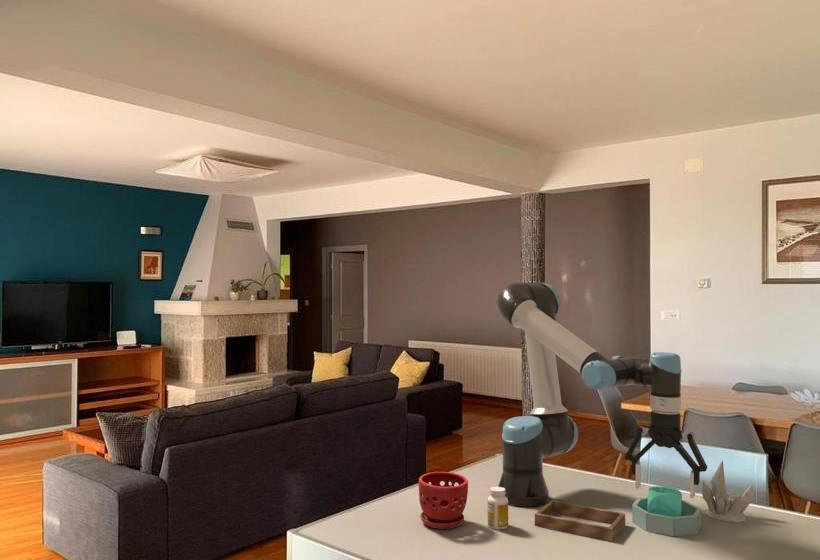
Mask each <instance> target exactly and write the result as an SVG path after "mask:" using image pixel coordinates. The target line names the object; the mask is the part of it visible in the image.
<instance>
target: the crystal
mask: <svg viewBox="0 0 820 560" xmlns="http://www.w3.org/2000/svg"><path fill="white" fill-rule="evenodd" d="M724 467H725V466H724V461H723V460H721V461H720V464H719V465H718V467H717V469H716V471H715V472H714V474H713V476H712V478H711V480H710V485H711V487H709V485H708V484H706V482H705V481H704V480H702V487H701V495H702V498H703V501H705V503H706V505H707V507H708V508H707V510H706V515H708V516H709V517H711V518H713V519H716V520H719V521H722V522H723V521H724V522H734V523H738V522H739V523H741V522H744V521H747V516H746V514H745V513H744V512H745V511H746V510H747V508H748V507H749V505H750V504H751V502H752V501H753V499H754V497H755V495H754V487H753V486H754V485H753V484H751V485H750V486H749V487H748V488H746V489H745V490H744V492H743V494H742V496H741V493H738V495H736V496H735V497H734V498H731V497H730V492H728V493H727V486H726V479H725V477H726V476H725V470H724V469H725V468H724Z"/></svg>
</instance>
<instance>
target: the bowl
mask: <svg viewBox="0 0 820 560" xmlns="http://www.w3.org/2000/svg"><path fill="white" fill-rule="evenodd" d="M631 507H632V508H631V517H632V518H631V520H632V521H631V522H632V523H633V524H635V525H636V526H637V527H639V528H641V529H643V530H644V531H646V532H648V533H655V534H659V535H665V536H668V537H669V536H670V537H685V536H695V535H698V534H699V532H700V530H701V529H702V508H701V507H699V506H697V505H694V504H693V503H690V502H688V501H686V500H685V499H684V500H683V499H682V516H679V517H670V516H665V515H659V514H653V513H649V512H648V496H647V497H637V498H636V500H635V501H634V502H633V503H632V505H631Z"/></svg>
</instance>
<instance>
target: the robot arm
mask: <svg viewBox="0 0 820 560" xmlns="http://www.w3.org/2000/svg"><path fill="white" fill-rule="evenodd" d="M496 299H497V300H496V306H497V309H498V312H499V314H500V315H501V316H502V317H503V319H504V320H505V321H506V322H508V323H509V324H510V325H512V327H513V328H516V329H521V330H523V331H524V336H525V343H526V351H527V359H528V369H529V377H530V384H531V392H532V400H533V408H532V410H531V411H530V412H529V415H523V416H514V417H511V418H509V419H507V420H506V421H504V423H503V425H502V433H501V437H502V473H501V477H500V479H499V482H498V486H497V487H503V488H505V492H506V493H505V497H507V499H508V506H517V507H529V508H530V507H538V506H543V505H547V504H548V503H549V502H550V501H549V500H550V493H549V489H548V486H547V482H546V480H545V477H544V471H543V468H544V467H543V464H544V463H543V459H547V458H552V457H556V456H562V455H564V454H566V453H568V452H570V451H571V450H572V449H574V447H575V446H576V445H577V442H578V438H579V432H578V431H579V429H578V426H577V424H576V422H575V421H574V420H573V418H572V417H570V416H569V411H568V409H567V408H566V407H565V406H564V405H563V404H562V397H561V387H560V382H559V374H558V366H557V357H558V358H560V359H561V360H563V361H564V362H565V363H567V364H568V365H569V366H570V367H572V368H573V369H574V370H576V371H577V372H578V373H579V374H581V379H582V381H583V383H584V385H585V386H586V387H587V388H588V389H591V390H593V391H605V390H606V391H607V390H609V389H614V388H620V387H626V386H631V385H632V386H639V387H640V386H642V387H645V388H646V387H648V388H649V391H650V392H649V397H650V398H649V401H650V402H649V406H650V407H649V408H650V412H649V428H648V427H645V426H644V425H640V426H639V427H637V430H636V436H635V437H634V439H633V441H632V443H631V445H630V446H629V448H628V449H627V452H626V453H625V455H624V459H625V460H627V461H629V462H631V474H632V475H633V476H635V489H640V488H641V486H642V481H641V480H642V462H641V461H640V459H641V458H642V457H643V456H644V455H645V454H646V453H647V452H648V451H649V450H651V448H653V446H655V445H656V446H657V447H659V448H667V449H672V448H674V449H675V451H676V452H678V454H679V455H680V456H681V457H682V458H683V460H684V461H685V463H686V464H687V465H688V466H689V467H690V469H691V471H690V473H689V474H690V475H689V476H690V479H689V481H690V483H689V484H690V486H689V487H690V488H689V489H690V491H689V492H690V493H689V497H690V499H694V498H695V497H696V486H699V484H700V481H701V480H700V479H701V478H700V476H701V472H706V471H707V469H708V464H707V462H706V461H705V459H704V457H703V455H702V453H701V451H700V449H699V447H698V445H697V443H696V441H695V434H694V432H692V431H689V432H682V430H681V429H682V428H681V427H682V425H681V424H682V421H681V419H682V417H681V416H682V415H681V413H680V412H682V411H681V410H682V409H681V407H682V406H681V404H682V402H681V401H682V395H681V394H682V393H681V390H682V389H681V386H682V381H681V380H682V365H681V364H682V362H681V356H680V355H679V354H678V353H674V352H664V351H663V352H661V351H658V352H657V351H655V352H652V353H650V358H641V357H633V356H628V355H615V356H612V357H611V359H609V358H607V357H605V356H604V354H603V355H602V354H601V353H600V352H598V350H596V349H594V348H593V347H592V346H590V345H589V344H588V343H587V342H585V341H583V340H582V339H581V338H580V337H578V336H577V335H575V334H574V333H573V332H571V331H570V330H568V329H567V328H565V327H564V326H563V325H562V324H561V323H559V322H557V318H556V316H558V314H559V311H560V310H561V307H562V303H561V302H562V301H561V296H560V295H559V293H558V291H557V290H556V288H555V287H553V286H552V285H550V284H548V283H546V282H545V283H542V282H512V283H509V284H506V285H505V286H504V287H502V289H501V290H500V292H499V293H498V295H497V298H496ZM646 434H648V436H649V437H650V438H651V440H650V441H649V442H648V443H647V444H646V445H644V447H643V448H642V449H640V450H639V452H638V453H637V454H635V455H634V453H635V451H636V449H637V447H638V445H639V443H640V441H641V440H642V438H643V437H644V436H646ZM682 438H683V439H684V440H685V442H687V443H688V446H689V448H690V450H691V452H692V454H693V456H694V458H695V460H696V461H697V462H696V461H695V460H694V458H693V457H692V456H691V455H690V454H689V452H688V451H687V450H686V449H685V447H684V445H683V444H682V443H681V440H682Z"/></svg>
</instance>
